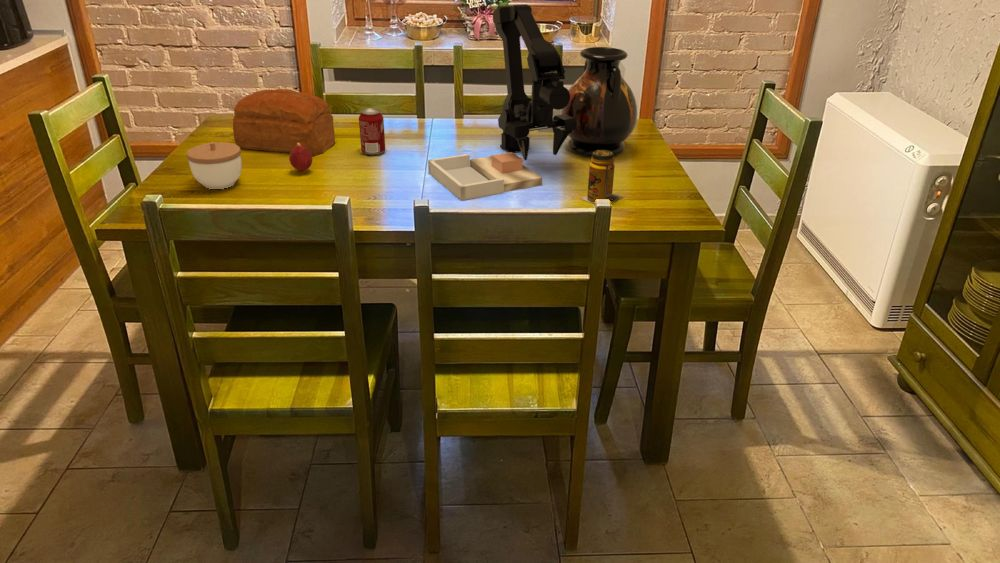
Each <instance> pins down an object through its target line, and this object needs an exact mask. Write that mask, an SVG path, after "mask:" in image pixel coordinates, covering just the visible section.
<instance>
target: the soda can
mask: <svg viewBox="0 0 1000 563" xmlns="http://www.w3.org/2000/svg"><path fill="white" fill-rule="evenodd" d="M384 120H385V119H384V115H383V114H382V113H381V109H380V108H376V107H375V108H372V107H370V108H363V109H361V110H360V114H359V116H358V126H359V138H360V150H361V152H362V153H363V154H365V155H366V156H378V155H381V154H384V152H386V139H385V138H386V136H385V124H384V123H385V122H384Z"/></svg>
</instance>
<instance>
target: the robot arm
mask: <svg viewBox="0 0 1000 563" xmlns="http://www.w3.org/2000/svg"><path fill="white" fill-rule="evenodd" d="M492 20H493V23H494V27H495V32H496V33H497V34H498V36H499V37H500V39H501V40H502V46H503V56H504V58H503V59H504V69H505V80H506V91H507V94H506V97H505V99H504V100H503V103H502V112H501V113H500V115H499V117H498V118H497V123H498V128H499V129H501V130H502V132H501V144H500V145H499V147H500V148H502V149H503V150H504V151H505V152H507V153H509V152H512V153H518V152H521V155H522V159H523V160H524V161H527V160H528V157H529V150H530V137H529V134H530V132H533V131H538V130H540V129H547V128H552V129H553V132H552V133H553V141H552V142H553V144H552V154H553V155H554V156H556V155H557V154H558V153H559V151H560V150H561V147H562V146H563V143H564V142H565V141H566V140H567V137H569V136H568V135H569V133H572V130H575V129H576V125H577V122H576V120H575V118H573V117H571V116H569V115H567V114H563V115H556V116H554V118H553V109H556V110H560V109H563V108H565V107H566V106H567V105H568V103H569V101H570V93H569V91H568V90H569V89H568V88H567V87H565V86H564V84H565V83H564V81H563V80H565V78H566V76H565V73H566V70H565V67H564V65H563V60H562V58H561V55H560V53H559V51H558V50H557V48H556V47H555V46H554V44H553V43H551V42H549V41H548V40H546V39H545V37H544V35H543V33H542V31H541V29H540V27H539V25H538V23H537V21H536V19H535V17H534V15H533V10H532V6H531V5H529V4H512V5H511V4H510V5H497V7H496V9H495V10H493V12H492ZM521 38H522V41H523V42H524V45H525V47H526V49H527V51H528V54H527V58H526V60H527V66H528V69H529V72H530V75H529V77H530V79H531V80H532V81H531V97H529V96H528V95H527V94H526V91H525V81H524V72H523V71H524V70H523V60H522V48H521Z"/></svg>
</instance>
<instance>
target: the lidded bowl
mask: <svg viewBox="0 0 1000 563" xmlns="http://www.w3.org/2000/svg"><path fill="white" fill-rule="evenodd" d="M241 151H242V150H241V148H240V147H239V146H238V145H236V143H233V142H226V141H225V142H223V141H222V142H221V141H220V142H219V141H218V142H215V141H211V142H209V143H203V144H200V145H196V146H194V147H191V148H189V149H188V150H187V151H186V158H187V160H188V165H189V168H190V170H191V173H192V176H193V177H194V179H195V180H196V181H197V182H198V183H199V184H201V185H202V186H204V188H205V187H206V188H205V189H207V188H209V189H208V190H210V189H222V190H225V189H224V188H227V189H229V188H228V187H230V188H232V187H234V186H235V183H236V182H237V180H239V178H240V175H241V172H242V166H243V165H242V164H243V162H242V161H243V160H242V156H241V154H242V152H241ZM231 186H232V187H231Z"/></svg>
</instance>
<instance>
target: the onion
mask: <svg viewBox="0 0 1000 563" xmlns="http://www.w3.org/2000/svg"><path fill="white" fill-rule="evenodd" d="M289 163H290V165H291V167H293V168H294V169H295V170H296V171H297V172H300V173H305V172H306V171H307V170H308V169H309V168H310V167H311V166H312V164H313V155H311V153H310V152H309V151H308V150H307V149H306V148H305V147H303V146H302V145H300V143H297V147H295V148H294V149H293V150H292V152H291V153H289Z"/></svg>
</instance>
